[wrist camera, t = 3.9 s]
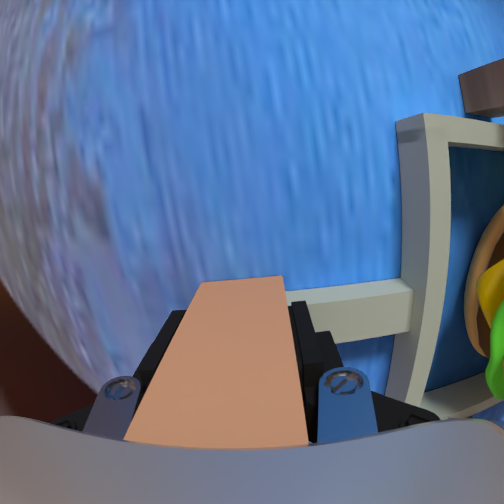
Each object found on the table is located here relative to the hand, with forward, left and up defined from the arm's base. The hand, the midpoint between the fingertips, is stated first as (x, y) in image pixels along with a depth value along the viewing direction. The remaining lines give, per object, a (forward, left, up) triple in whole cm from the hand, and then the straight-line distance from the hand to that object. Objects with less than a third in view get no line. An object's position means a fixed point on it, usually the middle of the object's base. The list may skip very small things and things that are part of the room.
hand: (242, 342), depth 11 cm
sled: (-11, 0, -2) cm, 11 cm away
